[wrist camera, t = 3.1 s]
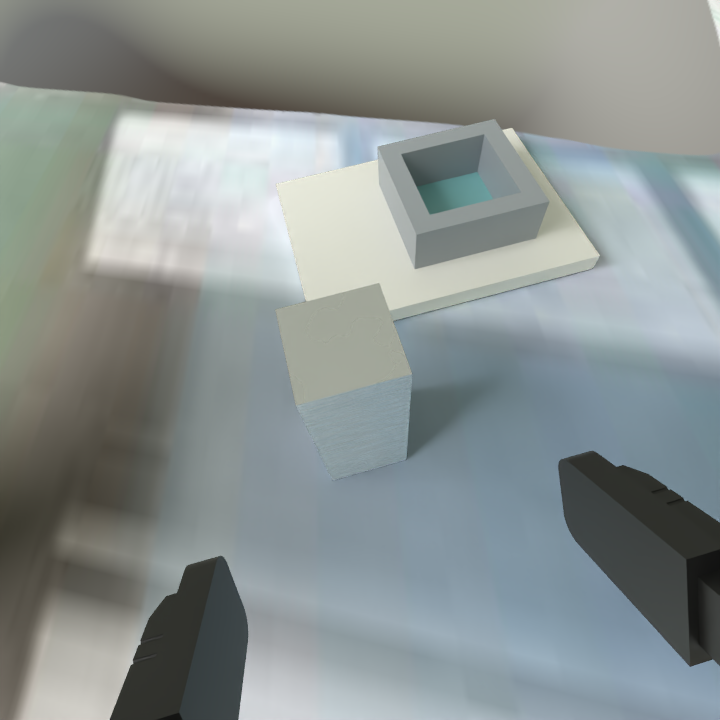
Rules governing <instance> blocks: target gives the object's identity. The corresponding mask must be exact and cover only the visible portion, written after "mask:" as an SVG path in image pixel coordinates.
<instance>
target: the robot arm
mask: <svg viewBox="0 0 720 720" xmlns="http://www.w3.org/2000/svg"><path fill="white" fill-rule="evenodd" d="M558 468H559V477H560V485H561V493H562V502H563V510H564V517H565V520H566V524H567V526H568V528H569V531H570V533H571V534H572V536H573V538H574V539H575V541H576V542H577V543H578V544H579V545H580V547H581V548H582V549H583V550H584V551H585V552H586V553H587V554H588V555H589V556H590V557H591V559H592V560H593V561H594V562H595V563H596V564H597V565H598V566H599V567H600V568H601V570H602V571H603V572H604V573H605V574H606V575H607V576H608V577H609V578H610V579H611V581H612V582H613V583H614V584H615V585H616V586H617V587H618V588H619V589H620V590H621V591H622V593H623V594H624V595H625V596H626V597H627V598H628V599H629V600H630V601H631V602H632V604H633V605H634V606H635V607H636V608H637V609H638V610H639V611H640V612H641V613H642V615H643V616H644V617H645V618H646V619H647V620H648V621H649V622H650V623H651V624H652V625H653V627H654V628H655V629H656V630H657V631H658V632H659V633H660V634H661V635H662V636H663V638H664V639H665V640H666V641H667V642H668V643H669V644H670V645H671V646H672V647H673V648H674V650H675V651H676V652H677V653H678V654H679V655H680V656H681V657H682V658H683V659H684V661H685V662H686V663H687V664H688V665H689V666H690V667H691V666H694V665H697V664H700V663H703V662H706V661H709V660H712V659H713V660H714V661H715V662H716V663H717V664H718V665H719V666H720V523H719V522H718V521H716V520H715V519H713V518H712V517H710V516H709V515H708V514H706V513H705V512H703V511H702V510H700V509H699V508H697V507H696V506H694V505H693V504H691V503H690V502H688V501H684V499H683V498H682V497H681V496H680V495H678V494H677V493H675V492H674V491H672V490H668V489H667V487H666V486H665V485H663V484H662V483H660V482H659V481H657V480H656V479H654V478H653V477H652V476H650V475H649V474H647V473H644V472H641V471H638V470H635V469H632V468H630V467H627V466H624V465H622V466H618V467H616V466H614V465H613V464H612V463H610V462H609V461H607V460H606V459H605V458H603V457H602V456H600V455H599V454H598V453H596V452H594V451H589V452H585V453H582V454H578V455H575V456H571V457H568V458H564V459H561V460H560V461H559V465H558ZM140 641H141V645H139V646H138V648H137V651H136V653H135V656H134V659H133V664H132V665H131V666H130V669H129V671H128V674H127V677H126V679H125V682H124V684H123V687H122V689H121V692H120V695H119V697H118V700H117V702H116V705H115V708H114V710H113V713H112V715H111V718H110V720H238V717H239V709H240V701H241V692H242V684H243V676H244V668H245V660H246V652H247V643H248V624H247V617H246V613H245V609H244V606H243V604H242V601H241V599H240V596H239V593H238V591H237V588H236V586H235V583H234V580H233V578H232V575H231V572H230V570H229V567H228V565H227V562H226V560H225V559H224V557H222V556H218V557H215V558H211V559H208V560H204V561H201V562H197V563H194V564H190V565H188V566H187V567H186V568H185V571H184V574H183V577H182V580H181V583H180V586H179V589H178V592H177V593H176V594H172V595H169V596H166V597H165V598H164V600H163V601H162V602H161V603H160V605H159V606H158V607H157V609H156V610H155V611H154V613H153V614H152V615H151V616H150V618H149V620H148V622H147V625H146V628H145V630H144V633H143V635H142V638H141V640H140Z"/></svg>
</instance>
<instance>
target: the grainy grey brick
mask: <svg viewBox="0 0 720 720" xmlns="http://www.w3.org/2000/svg"><path fill="white" fill-rule="evenodd" d="M275 311H276V315H277V320H278V325H279V329H280V334H281V339H282V343H283V348H284V353H285V357H286V362H287V367H288V371H289V376H290V381H291V385H292V390H293V395H294V400H295V404H296V407H297V409H298V411H299V413H300V415H301V417H302V419H303V421H304V423H305V425H306V428H307V430H308V432H309V434H310V436H311V438H312V440H313V442H314V444H315V446H316V448H317V450H318V452H319V454H320V456H321V458H322V460H323V462H324V465H325V467H326V469H327V471H328V473H329V475H330V477H331V479H332V481H334V480H337V479H341V478H344V477H348V476H351V475H355V474H358V473H362V472H366V471H369V470H373V469H376V468H380V467H383V466H387V465H390V464H394V463H397V462H401V461H404V460H406V458H407V444H408V429H409V415H410V400H411V386H412V372H411V369H410V366H409V363H408V361H407V358H406V355H405V352H404V350H403V347H402V344H401V341H400V339H399V336H398V333H397V330H396V328H395V325H394V322H393V319H392V317H391V314H390V311H389V308H388V306H387V303H386V300H385V297H384V295H383V292H382V289H381V286H380V284H379V283H377V284H373V285H369V286H365V287H361V288H357V289H353V290H349V291H346V292H342V293H338V294H334V295H330V296H326V297H322V298H318V299H314V300H310V301H306V302H303V303H299V304H295V305H291V306H287V307H283V308H279V309H275Z"/></svg>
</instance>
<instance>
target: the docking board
mask: <svg viewBox="0 0 720 720" xmlns="http://www.w3.org/2000/svg"><path fill="white" fill-rule="evenodd" d="M276 187H277V191H278V195H279V199H280V202H281V206H282V210H283V214H284V218H285V222H286V226H287V230H288V234H289V238H290V241H291V245H292V249H293V253H294V257H295V261H296V265H297V269H298V273H299V276H300V280H301V284H302V288H303V292H304V296H305V300H306V301H310V300H314V299H318V298H322V297H326V296H330V295H334V294H338V293H342V292H346V291H349V290H353V289H357V288H361V287H365V286H369V285H373V284H377V283H379V284H380V286H381V289H382V292H383V295H384V297H385V300H386V303H387V306H388V308H389V311H390V314H391V317H392V319H393V321H395V320H399V319H402V318H406V317H410V316H414V315H418V314H422V313H425V312H429V311H433V310H437V309H441V308H444V307H448V306H452V305H456V304H460V303H463V302H467V301H471V300H475V299H479V298H483V297H486V296H490V295H494V294H498V293H502V292H505V291H509V290H513V289H517V288H521V287H525V286H528V285H532V284H536V283H540V282H544V281H547V280H551V279H555V278H559V277H563V276H567V275H570V274H574V273H578V272H582V271H586V270H589V269H593V267H594V265H595V264H596V262H597V260H598V258H599V257H600V255H599V254H598V252H597V251H596V249H595V248H594V246H593V245H592V243H591V242H590V241H589V239H588V238H587V236H586V235H585V233H584V232H583V230H582V229H581V228H580V226H579V225H578V223H577V222H576V220H575V219H574V217H573V216H572V214H571V213H570V212H569V210H568V209H567V207H566V206H565V204H564V203H563V201H562V200H561V198H560V197H559V196H558V194H557V193H556V191H555V190H554V188H553V187H552V185H551V184H550V183H549V181H548V180H547V178H546V177H545V175H544V174H543V172H542V171H541V169H540V168H539V167H538V165H537V164H536V162H535V161H534V159H533V158H532V156H531V155H530V153H529V152H528V151H527V149H526V148H525V146H524V145H523V143H522V142H521V140H520V139H519V138H518V136H517V135H516V133H515V132H514V130H513V129H512V128H509V129H505V130H502V129H501V128H500V126H499V125H498V123H497V122H496V121H495V119H493V120H489V121H484V122H480V123H476V124H472V125H467V126H463V127H459V128H455V129H450V130H446V131H442V132H438V133H433V134H429V135H425V136H421V137H416V138H412V139H408V140H404V141H399V142H395V143H391V144H387V145H382V146H378V160H375V161H371V162H366V163H362V164H358V165H354V166H350V167H345V168H341V169H337V170H333V171H328V172H324V173H320V174H316V175H312V176H307V177H303V178H299V179H295V180H291V181H286V182H282V183H278V184H276Z"/></svg>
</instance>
